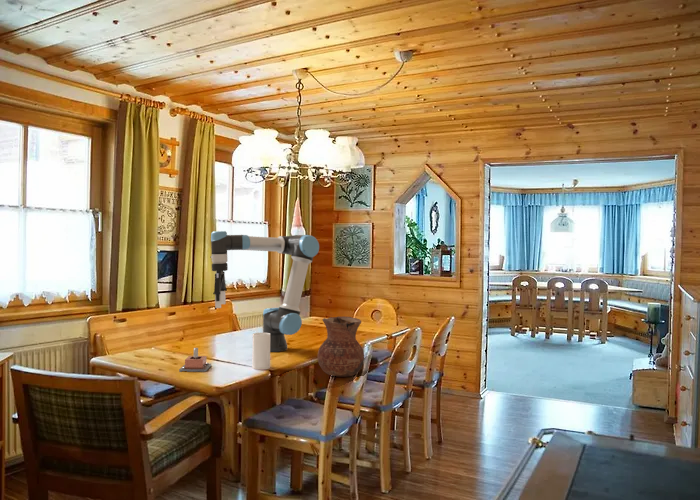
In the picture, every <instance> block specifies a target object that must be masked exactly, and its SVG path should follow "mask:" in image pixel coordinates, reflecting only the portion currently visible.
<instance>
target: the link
mask: <svg viewBox="0 0 700 500" xmlns="http://www.w3.org/2000/svg"><path fill="white" fill-rule="evenodd" d="M206 363H207V355H198V359H194V355H189V356H188V357H187V358H185V359H184V365H185V368H204V366H205V365H206Z"/></svg>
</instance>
